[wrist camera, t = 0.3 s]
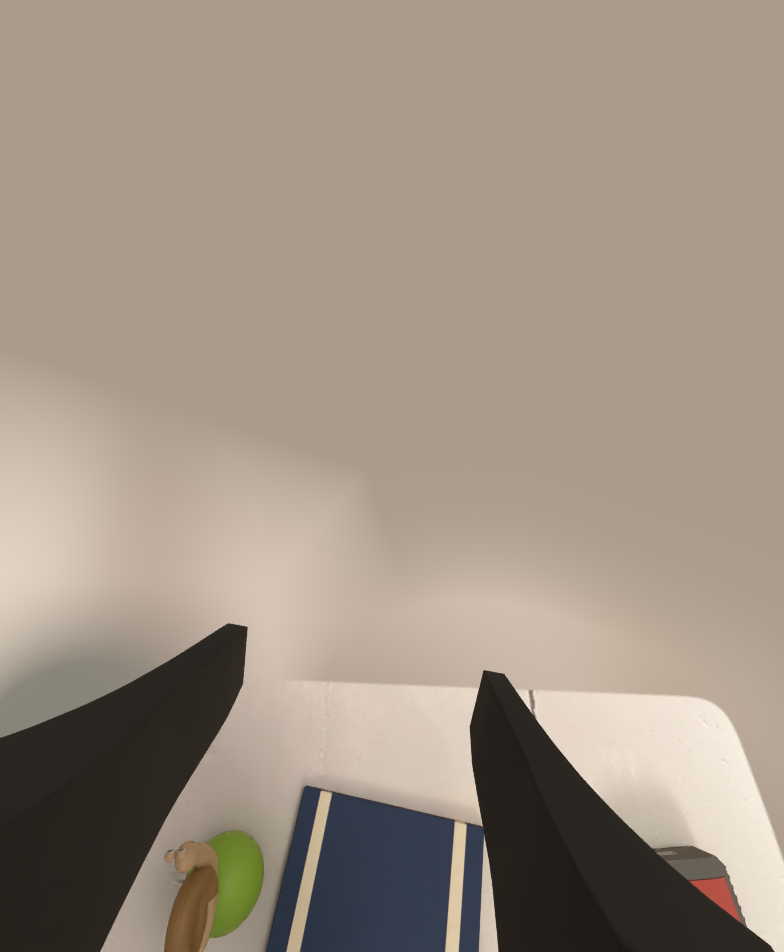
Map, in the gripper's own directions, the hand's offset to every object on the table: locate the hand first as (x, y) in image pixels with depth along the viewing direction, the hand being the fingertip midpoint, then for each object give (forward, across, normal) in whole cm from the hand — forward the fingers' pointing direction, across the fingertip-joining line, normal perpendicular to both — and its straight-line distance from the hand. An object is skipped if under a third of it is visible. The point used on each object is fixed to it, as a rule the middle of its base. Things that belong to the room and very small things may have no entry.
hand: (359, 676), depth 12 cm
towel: (+12, -4, +30) cm, 33 cm away
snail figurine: (+13, +8, +30) cm, 34 cm away
